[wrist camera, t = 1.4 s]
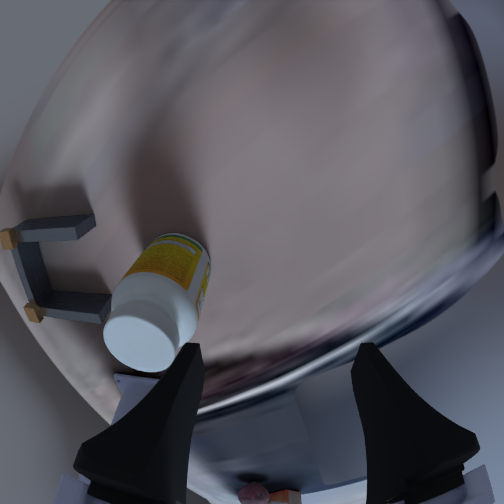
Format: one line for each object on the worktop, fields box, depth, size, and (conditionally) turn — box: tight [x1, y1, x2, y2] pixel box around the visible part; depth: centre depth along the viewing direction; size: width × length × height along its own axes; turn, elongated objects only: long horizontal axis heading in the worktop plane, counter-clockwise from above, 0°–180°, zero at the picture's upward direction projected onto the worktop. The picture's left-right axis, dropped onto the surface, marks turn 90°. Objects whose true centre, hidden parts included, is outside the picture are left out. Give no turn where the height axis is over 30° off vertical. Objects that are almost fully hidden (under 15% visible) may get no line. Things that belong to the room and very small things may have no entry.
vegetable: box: [238, 481, 270, 504], centre depth 37 cm, size 6×6×10 cm
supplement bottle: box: [103, 233, 211, 372], centre depth 17 cm, size 5×5×10 cm
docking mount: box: [0, 214, 112, 324], centre depth 20 cm, size 9×9×4 cm
